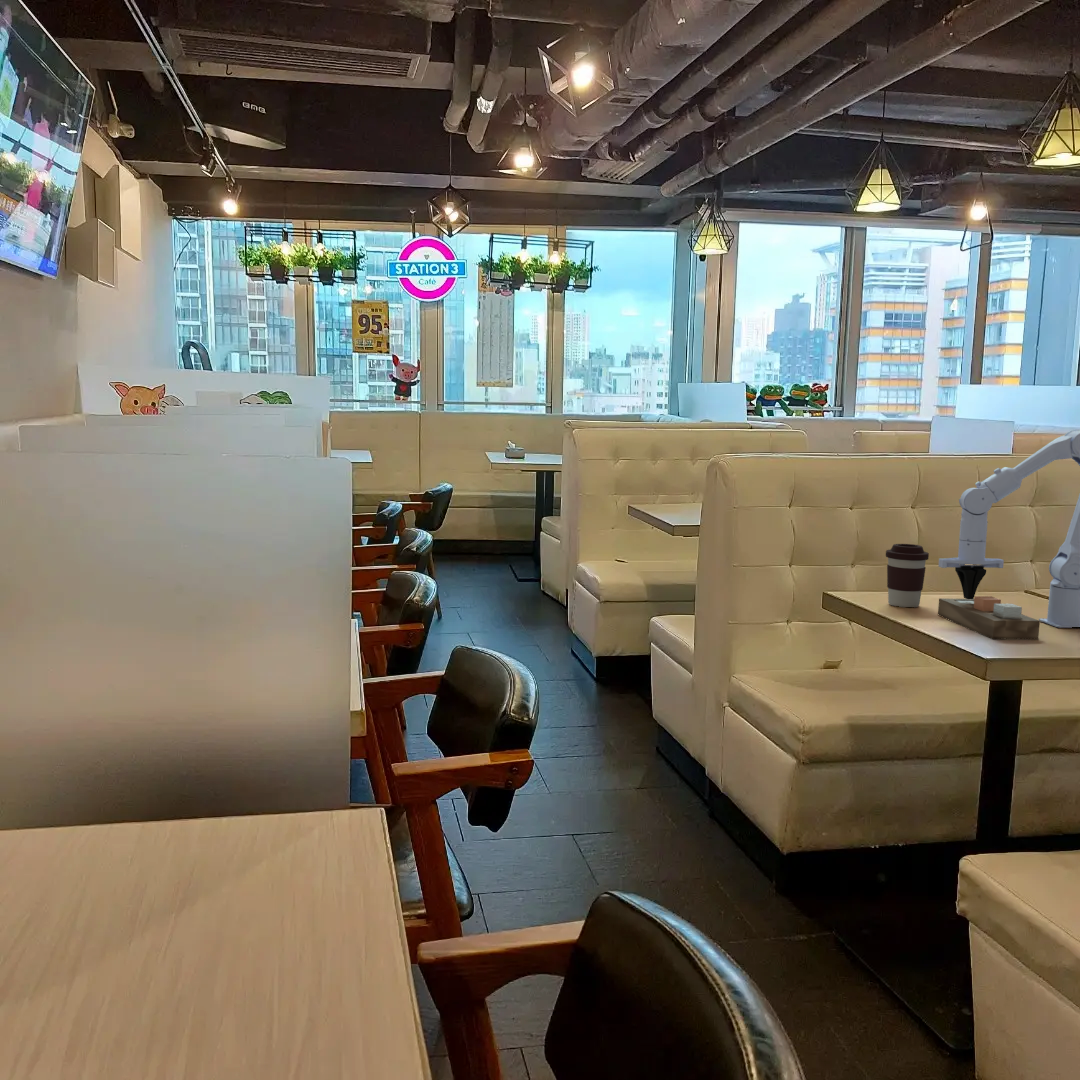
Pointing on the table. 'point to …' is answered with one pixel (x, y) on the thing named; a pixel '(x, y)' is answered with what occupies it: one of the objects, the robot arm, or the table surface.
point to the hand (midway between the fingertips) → (968, 598)
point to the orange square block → (985, 603)
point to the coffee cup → (905, 574)
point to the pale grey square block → (1007, 611)
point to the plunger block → (988, 621)
